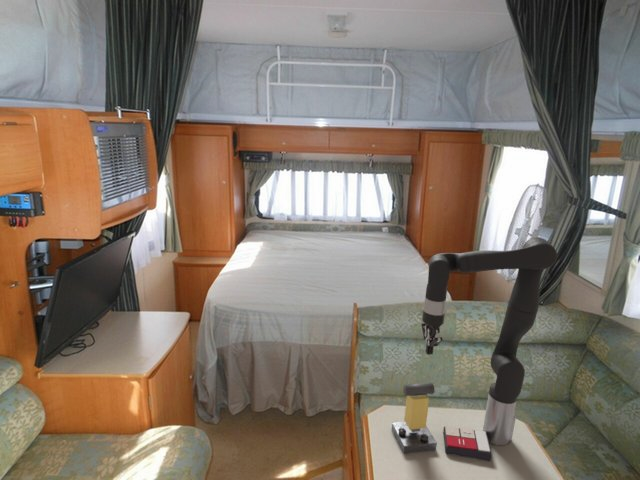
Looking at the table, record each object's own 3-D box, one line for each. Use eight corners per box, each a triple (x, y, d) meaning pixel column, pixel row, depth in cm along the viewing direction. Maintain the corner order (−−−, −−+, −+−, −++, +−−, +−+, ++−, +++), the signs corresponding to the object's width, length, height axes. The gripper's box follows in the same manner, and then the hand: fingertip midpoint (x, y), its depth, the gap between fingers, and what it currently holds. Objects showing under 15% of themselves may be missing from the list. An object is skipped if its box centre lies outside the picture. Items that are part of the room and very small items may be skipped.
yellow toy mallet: (424, 422, 155) (429, 379, 151) (430, 432, 151) (435, 387, 146) (398, 425, 153) (402, 381, 149) (403, 435, 149) (408, 390, 144)
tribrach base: (421, 426, 160) (422, 416, 159) (435, 449, 149) (437, 439, 148) (391, 429, 158) (392, 419, 157) (403, 453, 146) (404, 443, 145)
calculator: (443, 424, 157) (486, 429, 154) (443, 434, 158) (485, 439, 155) (445, 445, 146) (492, 451, 143) (445, 455, 147) (490, 462, 144)
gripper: (452, 317, 145) (446, 362, 150) (435, 302, 158) (430, 343, 162) (432, 318, 144) (427, 363, 148) (416, 302, 156) (412, 345, 161)
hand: (429, 353), depth 155 cm, fingers closed
